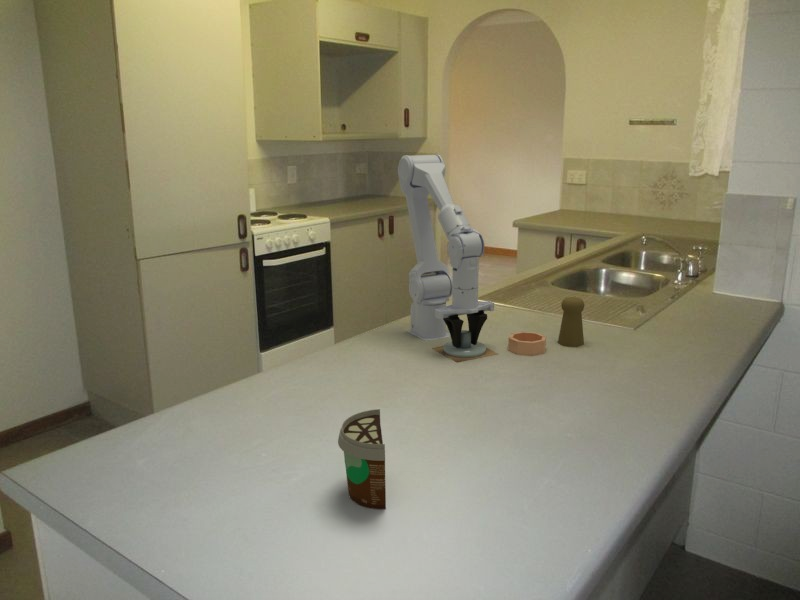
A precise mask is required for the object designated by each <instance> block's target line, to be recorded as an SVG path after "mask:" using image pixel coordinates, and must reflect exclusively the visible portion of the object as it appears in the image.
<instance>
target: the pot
mask: <svg viewBox="0 0 800 600" xmlns="http://www.w3.org/2000/svg"><path fill="white" fill-rule="evenodd" d="M507 348H508V349H507V350H508V352H511V353H514V354H515V355H520V356H531V357H532V356H533V357H534V356H537V355H543V354H545V351H546V349H547V336H546V335H544V334H541V333H539V332H537V331H535V332H534V331H518V332H513V333H510V334H509V336H508V347H507Z"/></svg>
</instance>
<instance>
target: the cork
mask: <svg viewBox="0 0 800 600" xmlns="http://www.w3.org/2000/svg"><path fill="white" fill-rule="evenodd" d="M560 307H561V309H562V312H563V313H562V318H561V322H560V323H561V324H560V329H559V334H558V339H557V343H558V344H559V345H561V346H564V347H568V348H569V347H570V348H578V347H579V348H580V347H581V346H584V345H585V339H584V338H585V336H584V329H583V328H584V327H583V315H582V313H583V310H584V309H585V302H584V299H582V298H580V297H576V296H568V297H567V296H566V297H564V298H563V299H562V301H561V305H560Z"/></svg>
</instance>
